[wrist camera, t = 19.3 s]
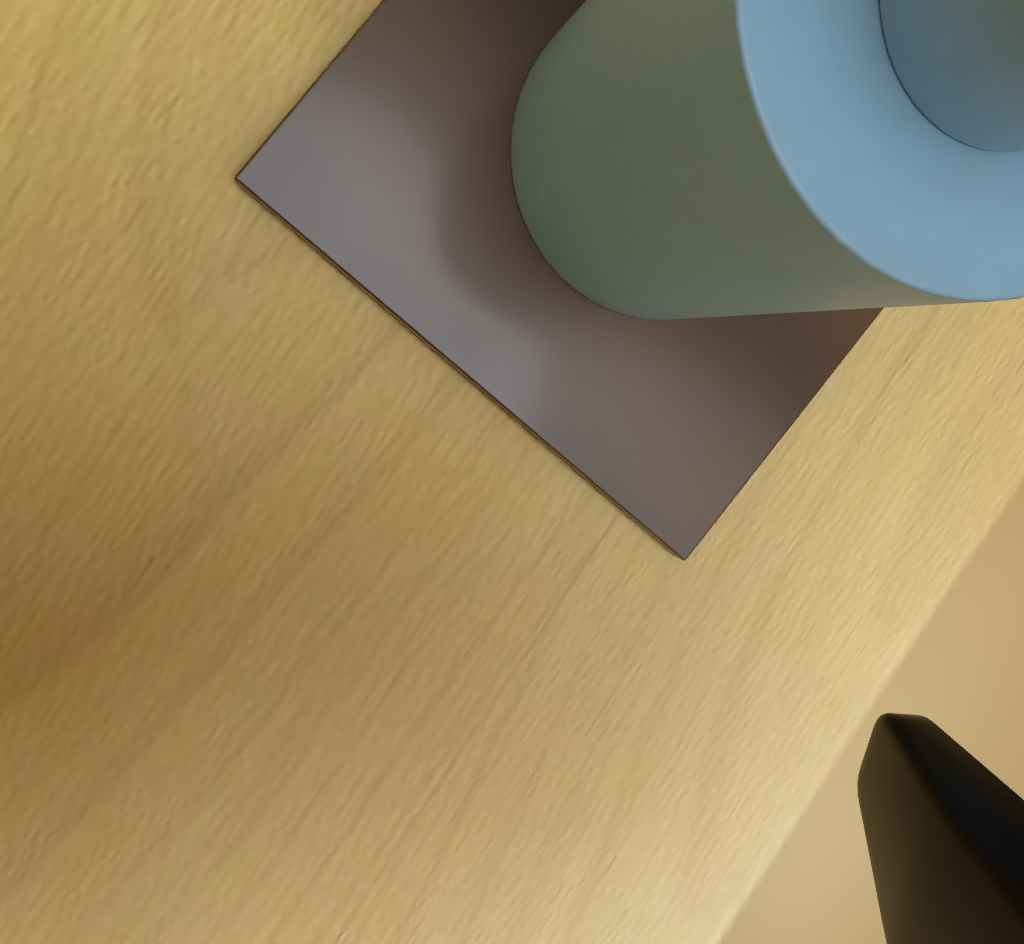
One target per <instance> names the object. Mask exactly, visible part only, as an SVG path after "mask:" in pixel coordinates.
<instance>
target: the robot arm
mask: <svg viewBox="0 0 1024 944" xmlns="http://www.w3.org/2000/svg"><path fill="white" fill-rule="evenodd" d="M858 798H859V804H860V809H861V814H862V819H863V824H864V830H865V835H866V839H867V845H868V850H869V855H870V860H871V865H872V871H873V876H874V881H875V887H876V891H877V897H878V902H879V907H880V912H881V917H882V923H883V927H884V932H885V937H886V942H887V944H1024V800H1023V799H1022V798H1021V797H1019V796H1018V795H1017V794H1016V793H1015V792H1014V791H1013V790H1011V789H1010V788H1009V787H1008V786H1007V785H1006V784H1004V783H1003V782H1002V781H1001V780H1000V779H998V777H996V776H995V775H994V774H993V773H991V771H989V770H988V769H987V768H986V767H985V766H983V765H982V764H981V763H980V762H979V761H978V760H977V759H975V758H974V757H973V756H972V755H971V754H970V753H968V752H967V751H966V750H965V749H964V748H963V747H961V746H960V745H959V744H958V743H957V742H955V741H954V740H953V739H952V738H951V737H950V736H949V735H947V734H946V733H945V732H944V731H943V730H942V729H940V728H939V727H938V726H937V725H936V724H935V723H933V722H932V721H931V720H929V719H928V718H926V717H924V716H920V715H909V714H895V713H886V714H883V715H881V716H880V717H879V718H878V719H877V721H876V723H875V725H874V728H873V731H872V734H871V737H870V740H869V743H868V746H867V749H866V752H865V755H864V759H863V761H862V765H861V768H860V771H859V775H858Z"/></svg>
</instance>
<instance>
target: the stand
mask: <svg viewBox="0 0 1024 944" xmlns="http://www.w3.org/2000/svg"><path fill="white" fill-rule="evenodd" d="M585 1H586V0H383V1H382V2H381V3H380V4H379V5H378V7H377V8H376V9H375V10H374V11H373V13H372V14H371V15H370V16H369V17H368V19H367V20H366V21H365V22H364V23H363V25H362V26H361V27H360V28H359V29H358V31H357V32H356V33H355V34H354V35H353V36H352V38H351V39H350V40H349V41H348V42H347V44H346V45H345V46H344V47H343V48H342V50H341V51H340V52H339V53H338V54H337V56H336V57H335V58H334V59H333V60H332V62H331V63H330V64H329V65H328V66H327V68H326V69H325V70H324V71H323V72H322V73H321V75H320V76H319V77H318V78H317V79H316V81H315V82H314V83H313V84H312V85H311V87H310V88H309V89H308V90H307V91H306V93H305V94H304V95H303V96H302V97H301V99H300V100H299V101H298V102H297V103H296V104H295V106H294V107H293V108H292V109H291V110H290V112H289V113H288V114H287V115H286V116H285V118H284V119H283V120H282V121H281V122H280V124H279V125H278V126H277V127H276V128H275V130H274V131H273V132H272V133H271V134H270V135H269V137H268V138H267V139H266V140H265V141H264V143H263V144H262V145H261V146H260V147H259V149H258V150H257V151H256V152H255V153H254V155H253V156H252V157H251V158H250V159H249V161H248V162H247V163H246V164H245V165H244V167H243V168H242V169H241V170H240V171H239V172H238V174H237V175H236V176H235V181H236V183H237V184H238V185H240V186H241V187H242V188H243V189H244V190H245V191H247V192H248V193H249V194H250V195H251V196H253V197H254V198H255V199H256V200H257V201H258V202H260V203H261V204H262V205H263V206H264V207H266V208H267V209H268V210H269V211H270V212H271V213H273V214H274V215H275V216H276V217H277V218H278V219H280V220H281V221H282V222H283V223H284V224H286V225H287V226H288V227H289V228H290V229H291V230H293V231H294V232H295V233H296V234H297V235H298V236H300V237H301V238H302V239H303V240H304V241H306V242H307V243H308V244H309V245H310V246H311V247H313V248H314V249H315V250H316V251H317V252H319V253H320V254H321V255H322V256H323V257H324V258H326V259H327V260H328V261H329V262H330V263H331V264H333V265H334V266H335V267H336V268H337V269H339V270H340V271H341V272H342V273H343V274H344V275H346V276H347V277H348V278H349V279H350V280H351V281H353V282H354V283H355V284H356V285H357V286H359V287H360V288H361V289H362V290H363V291H364V292H366V293H367V294H368V295H369V296H370V297H371V298H373V299H374V300H375V301H376V302H377V303H379V304H380V305H381V306H382V307H383V308H384V309H386V310H387V311H388V312H389V313H390V314H392V315H393V316H394V317H395V318H396V319H397V320H399V321H400V322H401V323H402V324H403V325H404V326H406V327H407V328H408V329H409V330H410V331H412V332H413V333H414V334H415V335H416V336H417V337H419V338H420V339H421V340H422V341H423V342H424V343H426V344H427V345H428V346H429V347H430V348H432V349H433V350H434V351H435V352H436V353H437V354H439V355H440V356H441V357H442V358H443V359H445V360H446V361H447V362H448V363H449V364H450V365H452V366H453V367H454V368H455V369H456V370H457V371H459V372H460V373H461V374H462V375H463V376H465V377H466V378H467V379H468V380H469V381H470V382H472V383H473V384H474V385H475V386H476V387H477V388H479V389H480V390H481V391H482V392H483V393H485V394H486V395H487V396H488V397H489V398H490V399H492V400H493V401H494V402H495V403H496V404H497V405H499V406H500V407H501V408H502V409H503V410H505V411H506V412H507V413H508V414H509V415H510V416H512V417H513V418H514V419H515V420H516V421H518V422H519V423H520V424H521V425H522V426H523V427H525V428H526V429H527V430H528V431H529V432H530V433H532V434H533V435H534V436H535V437H536V438H538V439H539V440H540V441H541V442H542V443H543V444H545V445H546V446H547V447H548V448H549V449H550V450H552V451H553V452H554V453H555V454H556V455H558V456H559V457H560V458H561V459H562V460H563V461H565V462H566V463H567V464H568V465H569V466H571V467H572V468H573V469H574V470H575V471H576V472H578V473H579V474H580V475H581V476H582V477H583V478H585V479H586V480H587V481H588V482H589V483H591V484H592V485H593V486H594V487H595V488H596V489H598V490H599V491H600V492H601V493H602V494H603V495H605V496H606V497H607V498H608V499H609V500H611V501H612V502H613V503H614V504H615V505H616V506H618V507H619V508H620V509H621V510H622V511H624V512H625V513H626V514H627V515H628V516H629V517H631V518H632V519H633V520H634V521H635V522H636V523H638V524H639V525H640V526H641V527H642V528H644V529H645V530H646V531H647V532H648V533H649V534H651V535H652V536H653V537H654V538H655V539H656V540H658V541H659V542H660V543H661V544H662V545H664V546H665V547H666V548H667V549H668V550H669V551H671V552H672V553H673V554H674V555H675V556H676V557H678V558H680V559H682V560H686V559H687V558H688V556H689V555H690V554H691V553H692V551H693V550H694V549H695V547H696V546H697V545H698V544H699V542H700V541H701V540H702V539H703V537H704V536H705V535H706V533H707V532H708V531H709V530H710V528H711V527H712V526H713V525H714V523H715V522H716V521H717V519H718V518H719V517H720V516H721V514H722V513H723V512H724V511H725V509H726V508H727V507H728V505H729V504H730V503H731V502H732V500H733V499H734V498H735V496H736V495H737V494H738V493H739V491H740V490H741V489H742V488H743V486H744V485H745V484H746V482H747V481H748V480H749V479H750V477H751V476H752V475H753V474H754V472H755V471H756V470H757V468H758V467H759V466H760V465H761V463H762V462H763V461H764V460H765V458H766V457H767V456H768V454H769V453H770V452H771V451H772V449H773V448H774V447H775V446H776V444H777V443H778V442H779V440H780V439H781V438H782V437H783V435H784V434H785V433H786V432H787V430H788V429H789V428H790V426H791V425H792V424H793V423H794V421H795V420H796V419H797V418H798V416H799V415H800V414H801V412H802V411H803V410H804V409H805V407H806V406H807V405H808V404H809V402H810V401H811V400H812V398H813V397H814V396H815V395H816V393H817V392H818V391H819V390H820V388H821V387H822V386H823V384H824V383H825V382H826V381H827V379H828V378H829V377H830V376H831V374H832V373H833V372H834V370H835V369H836V368H837V367H838V365H839V364H840V363H841V362H842V360H843V359H844V358H845V356H846V355H847V354H848V353H849V351H850V350H851V349H852V348H853V346H854V345H855V344H856V342H857V341H858V340H859V339H860V337H861V336H862V335H863V334H864V332H865V331H866V330H867V328H868V327H869V326H870V325H871V323H872V322H873V321H874V320H875V318H876V317H877V316H878V314H879V313H880V312H881V311H882V309H883V308H884V307H883V308H865V309H847V310H830V311H812V312H794V313H776V314H759V315H741V316H723V317H705V318H688V319H670V320H656V319H642V318H637V317H632V316H627V315H624V314H621V313H618V312H615V311H612V310H609V309H607V308H605V307H603V306H601V305H599V304H597V303H595V302H593V301H591V300H589V299H588V298H587V297H585V296H584V295H582V294H581V293H579V292H578V291H576V290H575V289H574V288H573V287H572V286H570V285H569V284H568V283H567V282H566V281H565V280H564V279H563V278H562V277H560V276H559V275H558V273H557V272H556V271H555V270H554V269H553V267H552V266H551V265H550V264H549V263H548V262H547V260H546V259H545V258H544V256H543V255H542V253H541V251H540V250H539V248H538V247H537V245H536V244H535V242H534V240H533V238H532V236H531V234H530V232H529V230H528V228H527V226H526V224H525V222H524V219H523V216H522V213H521V210H520V207H519V205H518V202H517V197H516V192H515V188H514V183H513V177H512V166H511V135H512V128H513V122H514V116H515V111H516V107H517V104H518V100H519V97H520V93H521V91H522V88H523V86H524V84H525V81H526V79H527V77H528V74H529V72H530V70H531V69H532V67H533V65H534V64H535V62H536V60H537V58H538V57H539V55H540V53H541V52H542V51H543V50H544V48H545V47H546V46H547V45H548V43H549V42H550V41H551V40H552V38H553V37H554V36H555V35H556V34H557V33H558V31H559V30H560V29H561V28H562V27H563V26H564V25H565V24H566V23H567V21H568V20H569V19H570V18H571V17H572V16H573V15H574V14H575V12H576V11H577V10H578V9H579V8H580V7H581V6H582V5H583V3H584V2H585Z"/></svg>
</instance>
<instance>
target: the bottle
mask: <svg viewBox="0 0 1024 944" xmlns="http://www.w3.org/2000/svg"><path fill="white" fill-rule="evenodd" d="M511 166H512V177H513V183H514V188H515V192H516V197H517V202H518V205H519V207H520V210H521V213H522V216H523V219H524V222H525V224H526V226H527V228H528V230H529V232H530V234H531V236H532V238H533V240H534V242H535V244H536V245H537V247H538V248H539V250H540V251H541V253H542V255H543V256H544V258H545V259H546V260H547V262H548V263H549V264H550V265H551V266H552V267H553V269H554V270H555V271H556V272H557V273H558V275H559V276H560V277H562V278H563V279H564V280H565V281H566V282H567V283H568V284H569V285H570V286H572V287H573V288H574V289H575V290H576V291H578V292H579V293H581V294H582V295H584V296H585V297H587V298H588V299H589V300H591V301H593V302H595V303H597V304H599V305H601V306H603V307H605V308H607V309H609V310H612V311H615V312H618V313H621V314H624V315H627V316H632V317H637V318H642V319H656V320H670V319H688V318H705V317H723V316H741V315H759V314H776V313H794V312H812V311H830V310H847V309H865V308H883V307H900V306H918V305H936V304H954V303H971V302H988V301H998V300H1008V299H1017V298H1022V297H1024V0H586V1H585V2H584V3H583V5H582V6H581V7H580V8H579V9H578V10H577V11H576V12H575V14H574V15H573V16H572V17H571V18H570V19H569V20H568V21H567V23H566V24H565V25H564V26H563V27H562V28H561V29H560V30H559V31H558V33H557V34H556V35H555V36H554V37H553V38H552V40H551V41H550V42H549V43H548V45H547V46H546V47H545V48H544V50H543V51H542V52H541V53H540V55H539V57H538V58H537V60H536V62H535V64H534V65H533V67H532V69H531V70H530V72H529V74H528V77H527V79H526V81H525V84H524V86H523V88H522V91H521V93H520V97H519V100H518V104H517V107H516V111H515V116H514V122H513V128H512V135H511Z"/></svg>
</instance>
